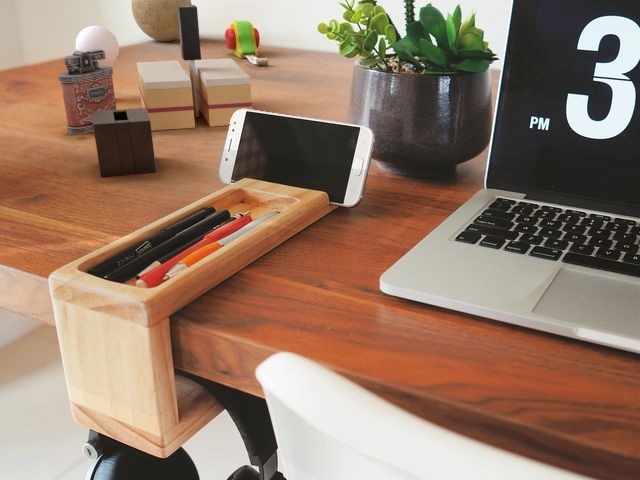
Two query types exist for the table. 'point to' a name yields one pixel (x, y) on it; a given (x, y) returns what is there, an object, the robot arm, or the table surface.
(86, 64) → the lighter
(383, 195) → the table surface
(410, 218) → the table surface
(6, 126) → the table surface
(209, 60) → the cake
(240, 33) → the toy measuring tape
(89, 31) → the lightbulb
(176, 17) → the fossilized egg
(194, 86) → the knife
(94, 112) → the knife block
